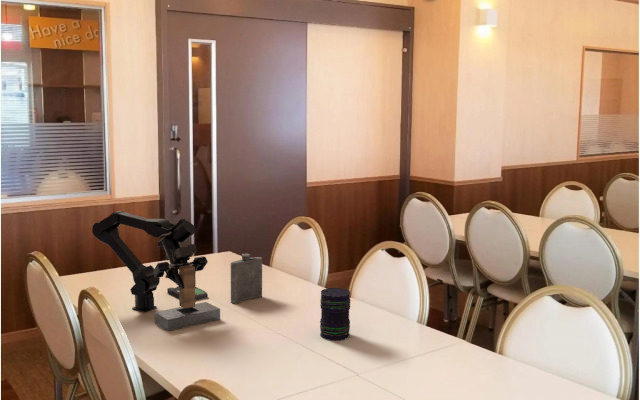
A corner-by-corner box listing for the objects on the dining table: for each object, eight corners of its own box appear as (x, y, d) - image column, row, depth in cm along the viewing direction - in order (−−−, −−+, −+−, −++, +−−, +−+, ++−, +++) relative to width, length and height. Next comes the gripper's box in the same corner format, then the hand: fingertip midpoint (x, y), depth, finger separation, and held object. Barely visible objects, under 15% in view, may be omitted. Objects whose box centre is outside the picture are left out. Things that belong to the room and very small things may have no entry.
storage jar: (353, 332, 226) (354, 289, 224) (344, 342, 217) (345, 297, 215) (325, 329, 230) (326, 286, 227) (315, 338, 220) (316, 294, 218)
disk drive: (166, 295, 269) (184, 303, 257) (166, 288, 268) (184, 296, 257) (190, 290, 275) (208, 298, 264) (189, 283, 275) (208, 291, 263)
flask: (228, 302, 258) (227, 256, 256) (257, 295, 268) (257, 250, 265) (233, 304, 256) (233, 257, 253) (263, 297, 265) (263, 252, 263)
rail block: (154, 323, 233) (154, 312, 232) (206, 312, 245) (205, 301, 245) (168, 331, 225) (167, 319, 225) (220, 319, 238) (220, 308, 237)
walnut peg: (179, 305, 235) (179, 266, 233) (189, 303, 237) (189, 264, 235) (184, 308, 232) (184, 269, 230) (195, 306, 234) (194, 267, 232)
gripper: (156, 240, 228) (171, 279, 221) (205, 234, 240) (221, 270, 233) (146, 258, 235) (161, 296, 229) (194, 251, 247) (209, 287, 240)
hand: (189, 287), depth 232 cm, fingers closed on walnut peg, 4 cm apart
